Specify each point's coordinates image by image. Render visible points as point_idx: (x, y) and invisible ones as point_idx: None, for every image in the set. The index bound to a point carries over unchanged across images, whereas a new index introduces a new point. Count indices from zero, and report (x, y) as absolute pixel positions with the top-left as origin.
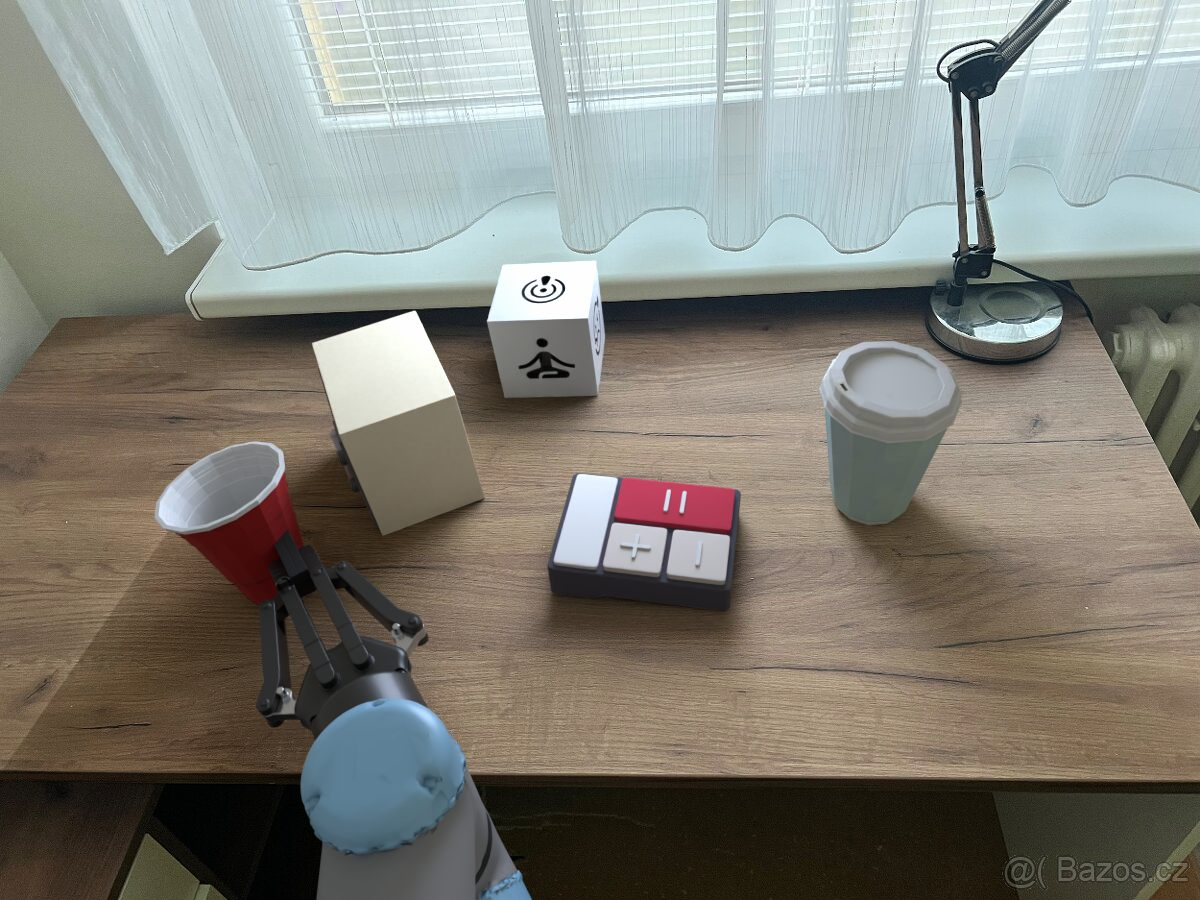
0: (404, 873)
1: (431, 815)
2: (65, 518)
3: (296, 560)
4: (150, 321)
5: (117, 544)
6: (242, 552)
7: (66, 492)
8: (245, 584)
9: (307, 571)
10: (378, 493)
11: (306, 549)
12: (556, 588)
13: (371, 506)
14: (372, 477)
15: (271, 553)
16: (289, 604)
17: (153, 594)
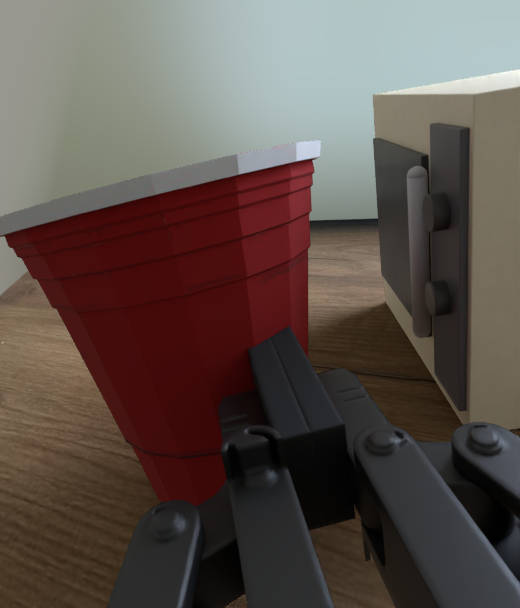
0: None
1: None
2: (4, 339)
3: (307, 393)
4: None
5: (31, 372)
6: (160, 343)
7: (26, 317)
8: (154, 454)
9: (342, 434)
10: (502, 315)
11: (334, 379)
12: None
13: (473, 348)
14: (505, 262)
15: (235, 375)
16: (258, 549)
17: (21, 450)
